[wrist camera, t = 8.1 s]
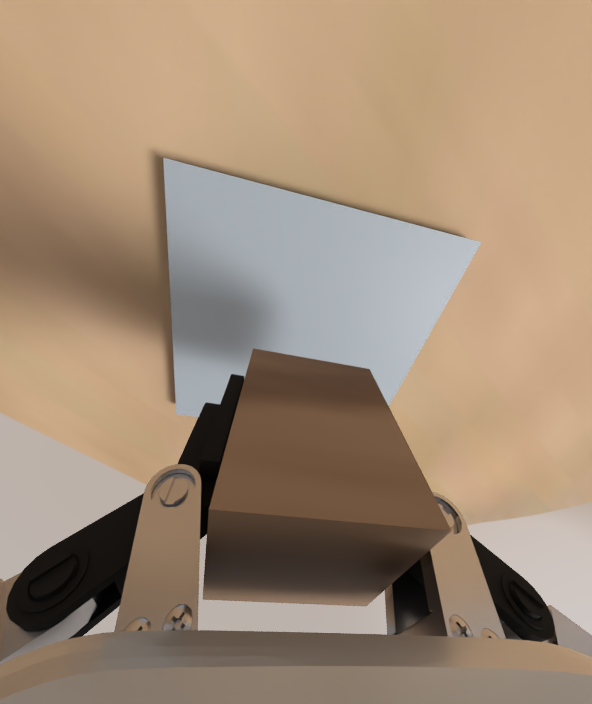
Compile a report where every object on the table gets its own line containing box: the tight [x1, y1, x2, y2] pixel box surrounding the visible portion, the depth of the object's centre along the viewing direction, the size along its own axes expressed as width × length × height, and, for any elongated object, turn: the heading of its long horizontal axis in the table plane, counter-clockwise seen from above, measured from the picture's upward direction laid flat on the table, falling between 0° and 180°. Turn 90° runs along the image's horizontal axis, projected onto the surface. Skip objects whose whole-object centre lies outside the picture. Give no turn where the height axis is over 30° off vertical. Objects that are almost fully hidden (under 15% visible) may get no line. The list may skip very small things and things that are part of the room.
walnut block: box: [203, 348, 451, 606], centre depth 8 cm, size 5×5×6 cm
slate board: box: [163, 158, 481, 417], centre depth 16 cm, size 16×16×1 cm
